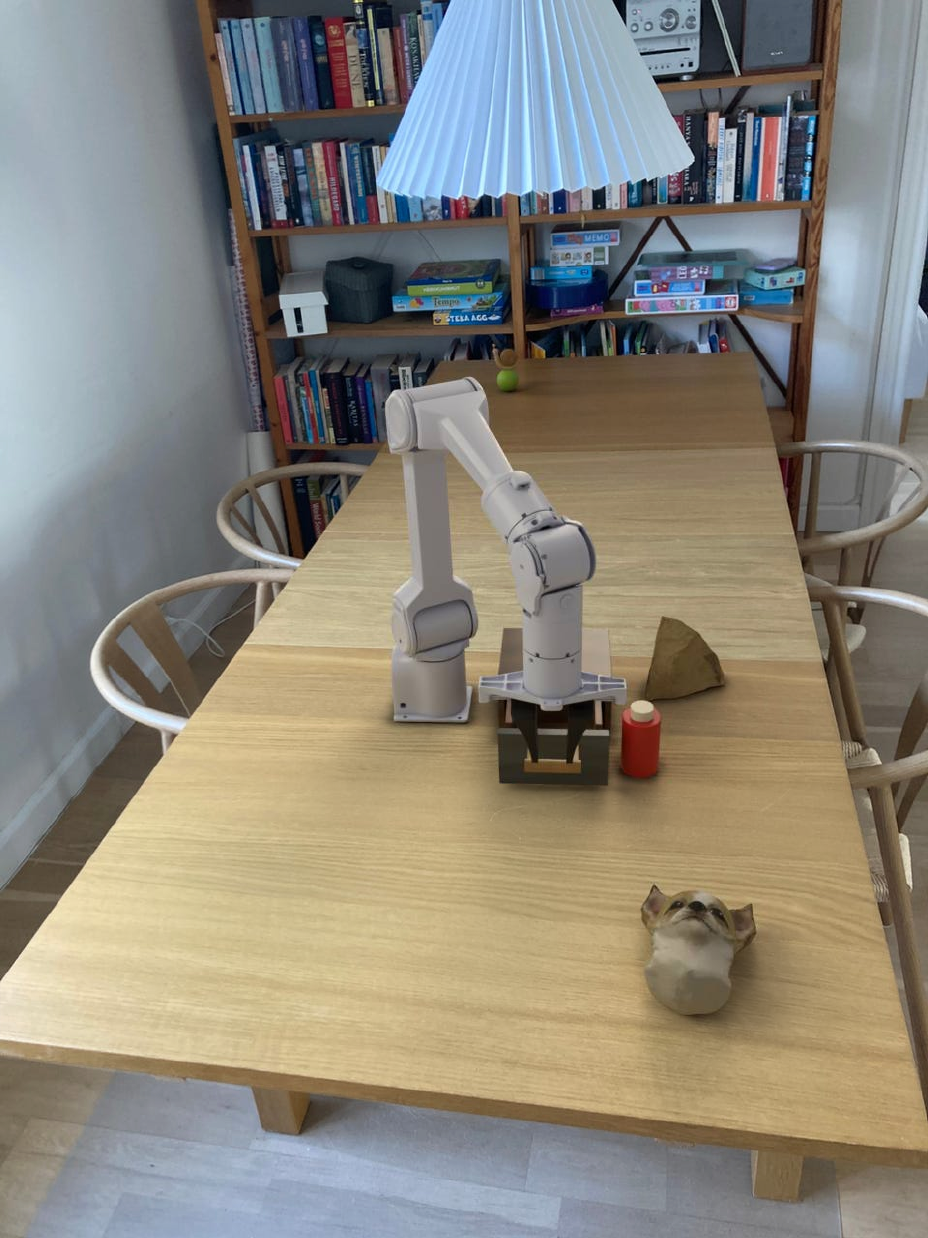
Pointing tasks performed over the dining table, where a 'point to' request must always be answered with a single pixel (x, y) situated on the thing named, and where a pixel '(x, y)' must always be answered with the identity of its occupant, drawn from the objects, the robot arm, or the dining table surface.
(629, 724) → the red plastic cylinder
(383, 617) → the dining table surface
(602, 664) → the cabinet
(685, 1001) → the ceramic sculpture
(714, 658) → the rock
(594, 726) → the drawer
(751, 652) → the dining table surface
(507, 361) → the snail figurine
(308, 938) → the dining table surface
